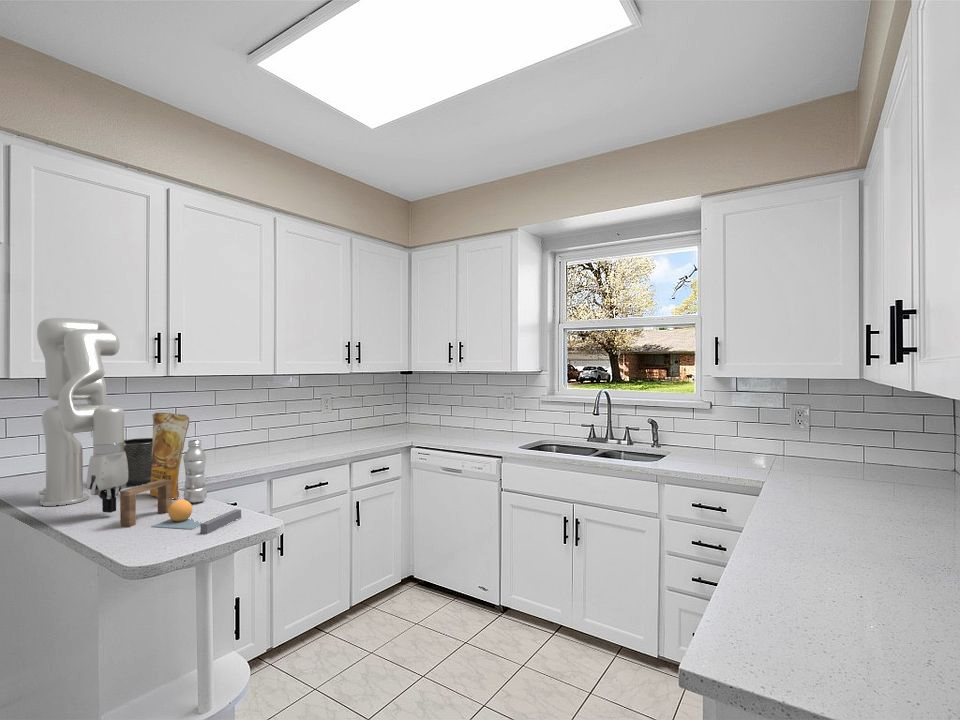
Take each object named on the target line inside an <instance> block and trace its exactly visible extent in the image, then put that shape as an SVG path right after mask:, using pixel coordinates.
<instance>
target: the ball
mask: <svg viewBox="0 0 960 720" xmlns="http://www.w3.org/2000/svg"><path fill="white" fill-rule="evenodd" d="M191 513H193V505H192V503H189V502H188V501H186V500H184V499H176V500H175V501H174V502H172V504H171V505H170V507H169V510H168V513H167V514H168V517H169V518H170V519H172V520H174V521H177V522H179V521H184V520H186V519H187V518H189V517H190V515H191Z"/></svg>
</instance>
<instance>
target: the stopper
mask: <svg viewBox="0 0 960 720" xmlns="http://www.w3.org/2000/svg"><path fill="white" fill-rule="evenodd" d="M219 515H220V516H218V517H216V518H213V519H211V520H209V521H206V522H204V523H201V524H200V527H199V528H200V530H199V531H200V534H204V535H207V534H210V533H212V532H214V531H217V530H219V529H221V528H223V527H225V526H228V525H229V524H228V523H230V522H232V521H234V520H236V519H239V518H241V519H242V509H233V510H230V511H228V512H225V513H223V514H219ZM239 520H240V519H239ZM236 521H237V520H236ZM234 522H235V521H234ZM232 523H233V522H232ZM227 524H228V525H227ZM230 524H231V523H230ZM224 525H225V526H224ZM220 527H221V528H220ZM218 528H219V529H218ZM216 529H217V530H216Z"/></svg>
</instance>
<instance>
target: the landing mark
mask: <svg viewBox="0 0 960 720" xmlns="http://www.w3.org/2000/svg"><path fill="white" fill-rule="evenodd" d="M200 524H201V522H200V523H199V522H198V521H196V522H194V520H193V519H192V518H191V520H190V519H188V518H187V519H186V520H184V521H179V522H177V521H174V520H172V519H171V518H170V519H166V520H164V521H162V522H159V523H156V524H154V525H151V528H160V529H162V528H163V529H177V530H192V529H193V530H194V528H195V529H197V528H199V527H198V526H200ZM196 527H197V528H196Z"/></svg>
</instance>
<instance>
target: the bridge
mask: <svg viewBox="0 0 960 720" xmlns="http://www.w3.org/2000/svg"><path fill="white" fill-rule="evenodd" d="M155 488H158V498H157V514H165V513H167V514H168V510H169V507H170V505H171V504H172V503H173V502H172V500H173V499H172V496H171V480H167V479H162V480H159V481H155V482H152V483H151V482H150V483H148V484H144V485H139V486H133V487H131V488H128V489H122V490H120V492H119V497H120V498H119V502H120V503H119V506H120V507H119V509H120V510H119V511H120V512H119V514H120V517H119V518H120V520H119V521H120V524H119V525H120V527H122V528H123V527H124V528H131V527H134V526H136V523H137V521H136V519H137V515H136V514H137V513H136V511H137V509H136V507H137V505H136V504H137V503H136V495H138V494H141V493H144V492H149V491H150V490H152V489H155Z"/></svg>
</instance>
